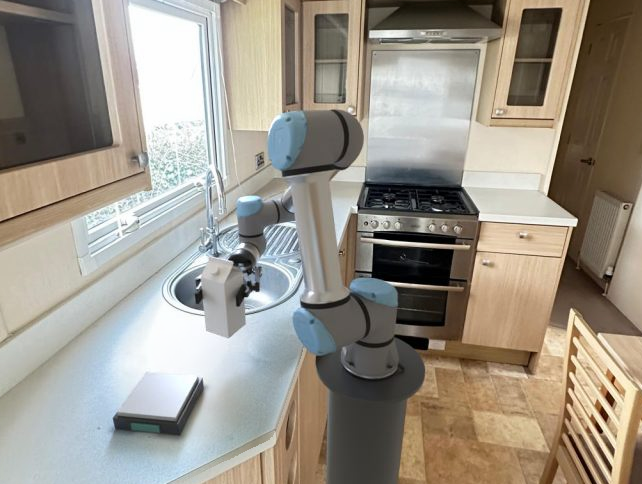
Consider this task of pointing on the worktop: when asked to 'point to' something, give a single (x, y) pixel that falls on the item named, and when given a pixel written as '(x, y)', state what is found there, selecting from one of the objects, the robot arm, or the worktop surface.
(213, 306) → the milk carton
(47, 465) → the worktop surface
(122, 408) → the kitchen scale
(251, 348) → the worktop surface
